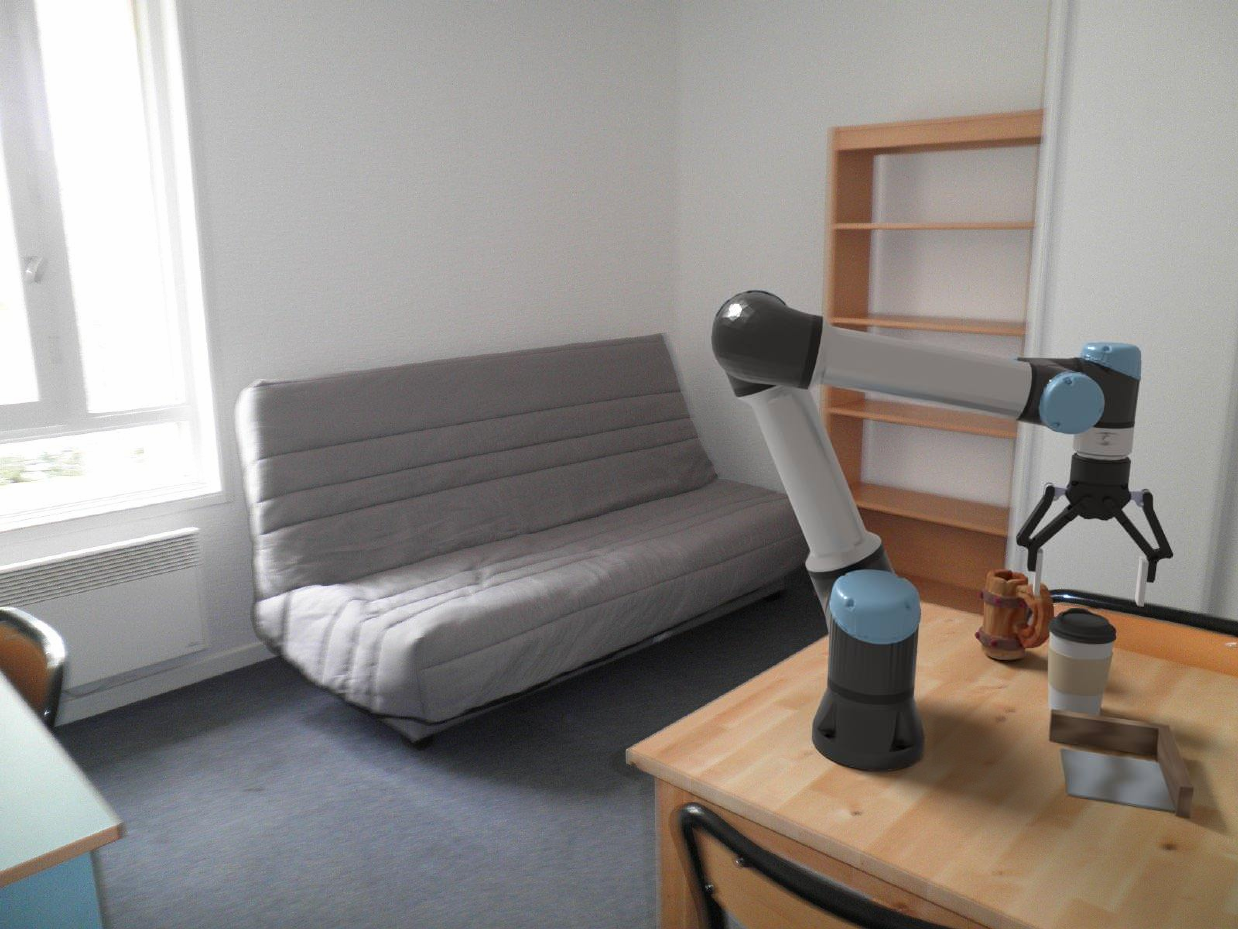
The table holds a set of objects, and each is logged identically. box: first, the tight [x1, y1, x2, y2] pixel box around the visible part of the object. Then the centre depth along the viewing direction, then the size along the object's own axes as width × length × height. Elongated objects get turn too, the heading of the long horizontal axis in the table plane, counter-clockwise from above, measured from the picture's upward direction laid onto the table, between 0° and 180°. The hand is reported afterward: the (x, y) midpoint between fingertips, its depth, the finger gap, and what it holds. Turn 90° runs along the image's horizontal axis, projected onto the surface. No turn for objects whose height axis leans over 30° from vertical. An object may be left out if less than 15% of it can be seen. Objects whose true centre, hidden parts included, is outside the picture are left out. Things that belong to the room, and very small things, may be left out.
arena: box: [1048, 709, 1195, 819], centre depth 130 cm, size 15×17×4 cm
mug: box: [974, 568, 1055, 661], centre depth 163 cm, size 15×8×15 cm, turn 17°
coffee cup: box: [1047, 607, 1117, 716], centre depth 146 cm, size 9×9×15 cm
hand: (1086, 598), depth 144 cm, fingers open, 13 cm apart
